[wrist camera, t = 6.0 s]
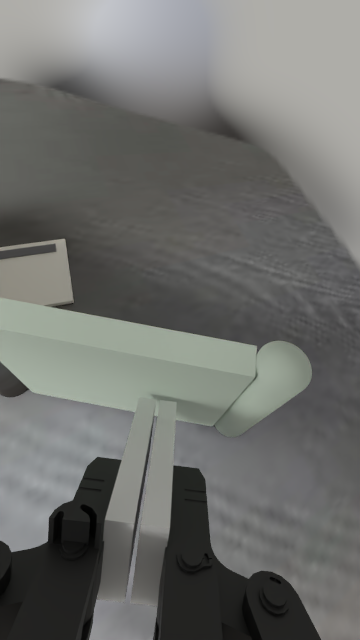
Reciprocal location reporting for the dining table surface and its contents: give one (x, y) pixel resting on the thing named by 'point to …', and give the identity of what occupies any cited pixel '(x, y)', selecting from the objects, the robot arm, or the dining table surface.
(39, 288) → the card
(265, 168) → the dining table surface
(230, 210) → the dining table surface
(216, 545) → the dining table surface
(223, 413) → the panel
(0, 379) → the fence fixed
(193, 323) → the dining table surface
